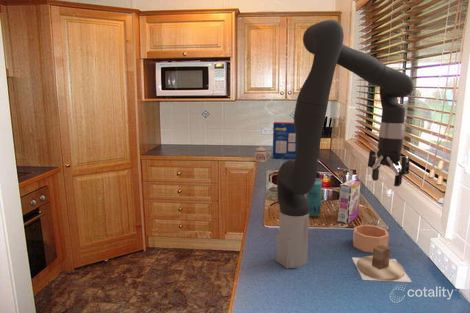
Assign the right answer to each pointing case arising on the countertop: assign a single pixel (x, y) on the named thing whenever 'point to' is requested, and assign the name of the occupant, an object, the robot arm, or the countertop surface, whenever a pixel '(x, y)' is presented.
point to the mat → (365, 277)
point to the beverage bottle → (315, 197)
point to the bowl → (369, 237)
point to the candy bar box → (348, 201)
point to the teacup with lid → (261, 154)
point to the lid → (380, 265)
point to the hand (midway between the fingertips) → (385, 183)
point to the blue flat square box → (284, 140)
